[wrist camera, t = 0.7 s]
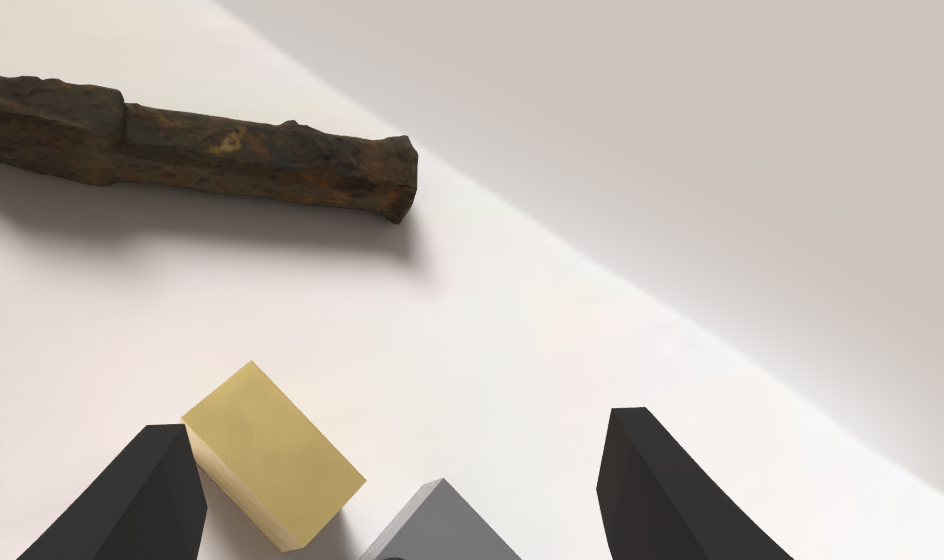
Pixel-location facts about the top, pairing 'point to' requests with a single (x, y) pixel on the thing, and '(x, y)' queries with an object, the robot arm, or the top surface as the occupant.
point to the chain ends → (439, 530)
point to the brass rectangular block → (270, 458)
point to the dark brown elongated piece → (198, 150)
